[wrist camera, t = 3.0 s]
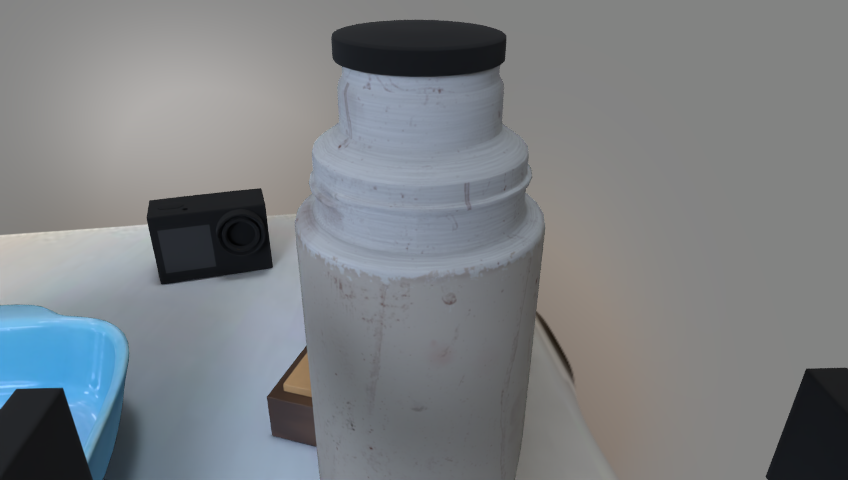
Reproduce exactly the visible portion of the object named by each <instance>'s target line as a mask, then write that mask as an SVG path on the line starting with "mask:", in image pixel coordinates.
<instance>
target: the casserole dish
mask: <svg viewBox="0 0 848 480" xmlns="http://www.w3.org/2000/svg"><path fill="white" fill-rule="evenodd" d="M128 362H129V346H128V341H127V339H126V336H125V334H124V333H123V332H122V331H121V330H120V329H119V328H118V327H117V326H115V325H113V324H111V323H109V322H107V321H104V320H100V319H96V318H87V317H79V316H64V315H60V314H57V313H55V312H53V311H51V310H49V309H47V308H44V307H41V306H35V305H0V409H1V408H2V406H3V405H4V404H5V403H6V401H7V400H8V399H9V398H10V396H11V395H12V394H13V392H14V391H15V390H16V389H27V388H63V389H64V392H65V396H66V399H67V402H68V405H69V408H70V411H71V414H72V417H73V420H74V423H75V426H76V429H77V432H78V435H79V438H80V441H81V445H82V448H83V451H84V454H85V457H86V460H87V463H88V466H89V469H90V472H91V475H92V478H93V480H103V478H104V476H105V473H106V470H107V467H108V464H109V461H110V458H111V455H112V452H113V448H114V444H115V440H116V436H117V432H118V427H119V422H120V417H121V410H122V404H123V395H124V386H125V378H126V373H127V367H128Z"/></svg>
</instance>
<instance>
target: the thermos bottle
mask: <svg viewBox="0 0 848 480" xmlns="http://www.w3.org/2000/svg"><path fill="white" fill-rule="evenodd" d="M505 51H506V35H505V34H504V33H503V32H502V31H500V30H497V29H494V28H491V27H487V26H483V25H477V24H471V23H462V22H453V21H438V20H396V21H395V20H394V21H379V22H369V23H363V24H356V25H352V26H347V27H344V28H341V29H338V30H337V31H335V32H334V33H333V34H332V55H333V60H334V61H335V62H336V63H337V64H339V65H341V66H342V76H341V78H340V79H339V82H338V106H339V123H337V124H336V125H335V126H333V127H332V128H330V129H329V130H327V131H326V132H324V133H323V134H322V135H320V137H319V138H318V139H317V140H316V141H315V143H314V146H313V150H312V160H313V171H312V172H311V176H310V180H309V185H310V189H311V192H312V194H311V195H310V196H309V197H308V198H306V199H305V201H304V202H303V203H302V205H301V206H300V208H299V209H298V211H297V216H296V220H295V232H296V242H297V252H298V262H299V272H300V282H301V292H302V303H303V313H304V323H305V333H306V343H307V353H308V363H309V373H310V383H311V394H312V404H313V414H314V424H315V434H316V444H317V454H318V464H319V474H320V480H515V476H516V470H517V465H518V460H519V454H520V449H521V442H522V435H523V426H524V417H525V408H526V399H527V390H528V380H529V371H530V362H531V353H532V344H533V335H534V325H535V316H536V307H537V298H538V289H539V279H540V270H541V261H542V252H543V242H544V234H545V223H544V215H543V212H542V211H541V209H540V207H539V206H538V204H537V202H536V201H534V200H533V199H532V198H531V197H530V196H529V195H528V194H527V193H525V191H526V188H527V186H528V185H529V183H530V181H531V179H532V172H531V167H530V166H529V165H528V146H527V144H526V143H525V142H524V140H523V139H522V138H521V137H520V136H519V135H518V134H516V133H515V132H514V131H512V130H511V129H509V128H508V127H507V126H505V125H504V124H502V109H503V94H504V91H503V90H504V84H503V81H502V79H501V78H500V76H499V69H500V65H501V64H502V63H503V62H504V61H505Z"/></svg>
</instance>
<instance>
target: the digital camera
mask: <svg viewBox="0 0 848 480" xmlns="http://www.w3.org/2000/svg"><path fill="white" fill-rule="evenodd" d="M147 222H148V227H149V232H150V236H151V241H152V245H153V250H154V254H155V259H156V263H157V268H158V272H159V277H160V281H161V284H164V283H172V282H179V281H186V280H193V279H200V278H207V277H214V276H221V275H227V274H234V273H241V272H248V271H254V270H261V269H267V268H272V267H273V266H272V257H271V249H270V241H269V232H268V224H267V216H266V208H265V202H264V198H263V194H262V190H261V188H260V189H249V190H241V191H240V190H239V191H230V192H221V193H213V194H202V195H193V196H184V197H176V198H167V199H159V200H150V201H149V207H148V213H147Z"/></svg>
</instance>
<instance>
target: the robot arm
mask: <svg viewBox="0 0 848 480" xmlns="http://www.w3.org/2000/svg"><path fill="white" fill-rule="evenodd" d="M766 478H767V479H768V480H848V369H847V368H820V369H806V371H805V374H804V376H803V379H802V382H801V384H800V387H799V390H798V392H797V395H796V398H795V400H794V403H793V406H792V408H791V411H790V413H789V416H788V419H787V421H786V424H785V427H784V430H783V432H782V435H781V438H780V440H779V443H778V445H777V448H776V451H775V454H774V456H773V459H772V462H771V464H770V467H769V469H768V472H767V475H766ZM0 480H93V478H92V475H91V472H90V469H89V466H88V463H87V460H86V457H85V454H84V451H83V448H82V445H81V441H80V438H79V435H78V432H77V429H76V426H75V423H74V420H73V417H72V414H71V411H70V408H69V405H68V402H67V399H66V396H65V392H64V389H63V388H27V389H16V390H15V391H14V392H13V394H12V395H11V396H10V398H9V399H8V400H7V401H6V403H5V404H4V405H3V406H2V408H1V409H0Z"/></svg>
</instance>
